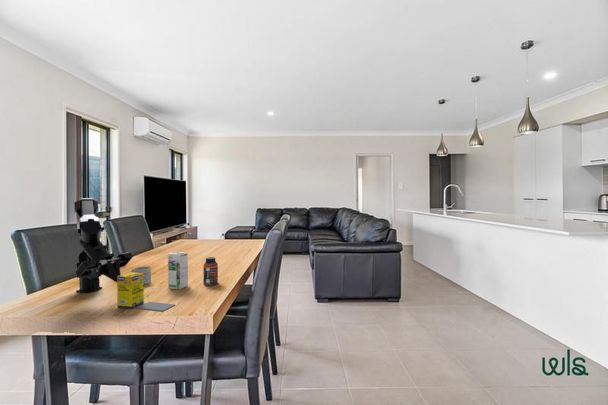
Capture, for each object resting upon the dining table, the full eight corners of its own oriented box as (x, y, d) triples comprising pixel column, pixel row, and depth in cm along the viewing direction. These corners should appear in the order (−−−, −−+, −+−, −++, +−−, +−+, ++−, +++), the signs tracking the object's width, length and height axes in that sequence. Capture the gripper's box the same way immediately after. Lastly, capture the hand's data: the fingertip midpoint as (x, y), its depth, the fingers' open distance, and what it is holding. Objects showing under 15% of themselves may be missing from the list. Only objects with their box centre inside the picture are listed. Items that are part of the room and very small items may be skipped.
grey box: (154, 282, 141) (154, 267, 140) (141, 285, 135) (141, 270, 134) (138, 279, 145) (138, 265, 145) (125, 283, 139) (124, 268, 138)
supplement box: (132, 309, 107) (131, 276, 107) (116, 308, 108) (116, 276, 108) (144, 303, 113) (143, 272, 112) (129, 302, 114) (129, 271, 114)
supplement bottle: (210, 286, 133) (209, 259, 132) (200, 284, 136) (200, 258, 135) (220, 283, 138) (220, 257, 137) (211, 281, 141) (211, 256, 141)
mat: (136, 308, 108) (136, 307, 108) (149, 302, 113) (149, 301, 113) (162, 311, 104) (162, 310, 104) (175, 305, 110) (175, 304, 110)
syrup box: (167, 288, 131) (166, 253, 130) (178, 284, 136) (177, 250, 136) (178, 289, 128) (177, 254, 128) (188, 285, 134) (188, 251, 134)
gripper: (106, 259, 125) (128, 289, 122) (56, 269, 107) (81, 305, 104) (121, 239, 122) (145, 270, 119) (73, 247, 104) (99, 283, 101)
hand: (119, 282), depth 111 cm, fingers closed
